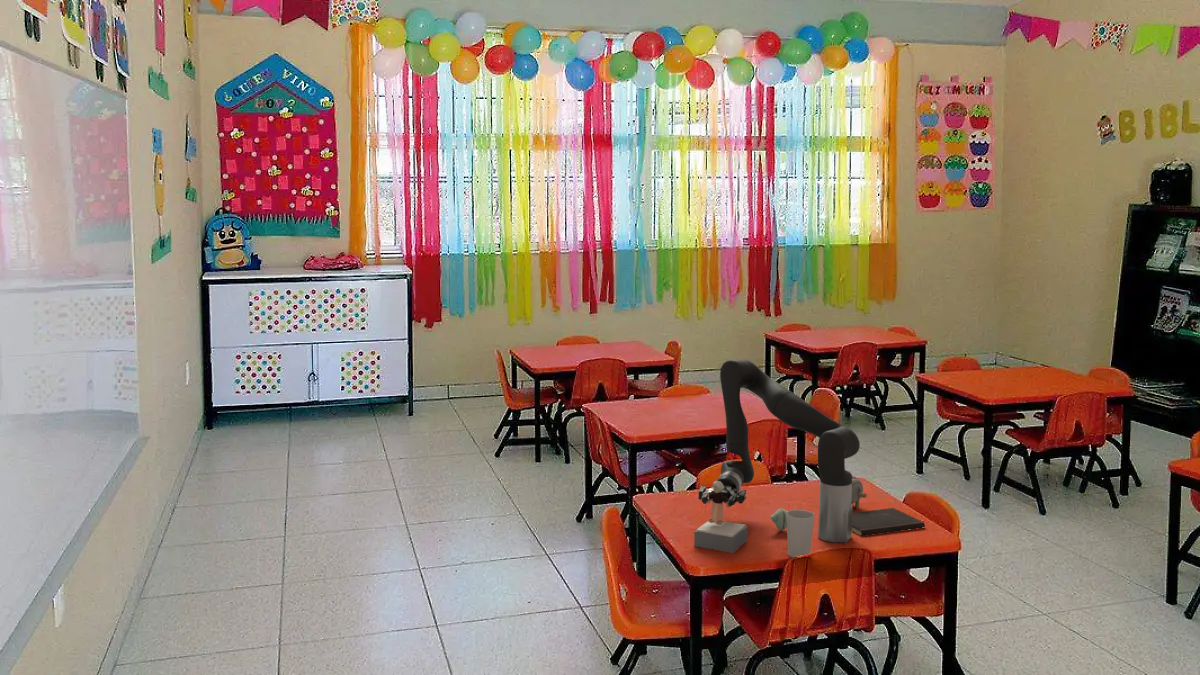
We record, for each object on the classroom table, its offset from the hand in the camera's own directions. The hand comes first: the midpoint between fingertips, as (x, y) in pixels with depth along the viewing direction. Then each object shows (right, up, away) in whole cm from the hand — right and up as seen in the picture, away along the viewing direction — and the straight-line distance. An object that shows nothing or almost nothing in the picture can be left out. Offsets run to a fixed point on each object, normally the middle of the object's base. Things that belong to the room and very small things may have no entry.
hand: (717, 501), depth 304 cm
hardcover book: (+53, -11, +22) cm, 58 cm away
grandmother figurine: (0, -7, +3) cm, 8 cm away
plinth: (+1, -13, +3) cm, 13 cm away
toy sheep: (+46, -8, +40) cm, 61 cm away
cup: (+23, -14, -5) cm, 27 cm away
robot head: (+21, -11, +16) cm, 29 cm away
